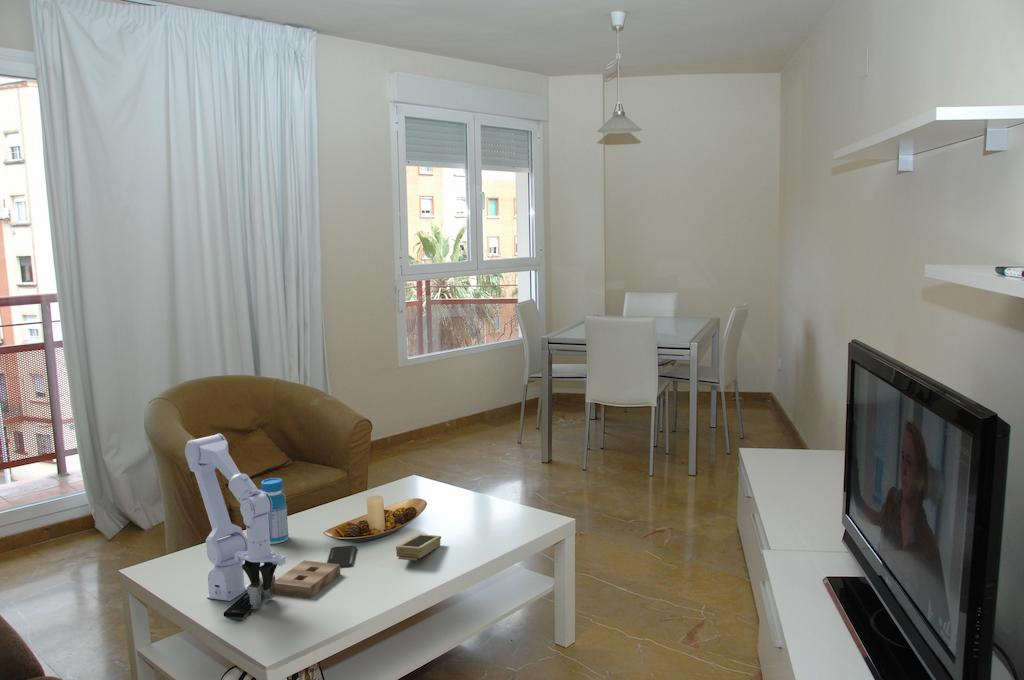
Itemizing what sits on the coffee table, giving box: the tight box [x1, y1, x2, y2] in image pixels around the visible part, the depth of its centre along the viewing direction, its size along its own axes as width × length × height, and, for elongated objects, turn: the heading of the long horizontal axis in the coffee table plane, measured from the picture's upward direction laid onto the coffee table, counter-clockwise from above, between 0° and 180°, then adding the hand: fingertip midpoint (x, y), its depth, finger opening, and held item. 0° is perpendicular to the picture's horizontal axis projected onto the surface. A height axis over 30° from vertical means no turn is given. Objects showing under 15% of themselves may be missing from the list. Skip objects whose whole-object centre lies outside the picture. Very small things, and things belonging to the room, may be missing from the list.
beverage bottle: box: [260, 477, 289, 545], centre depth 257 cm, size 8×8×20 cm
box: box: [395, 533, 442, 561], centre depth 243 cm, size 8×22×5 cm, turn 167°
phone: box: [326, 545, 357, 569], centre depth 242 cm, size 8×1×15 cm
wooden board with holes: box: [274, 559, 341, 599], centre depth 224 cm, size 16×12×3 cm
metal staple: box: [246, 574, 276, 610], centre depth 211 cm, size 8×3×6 cm, turn 162°
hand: (261, 588), depth 211 cm, fingers closed on metal staple, 3 cm apart
